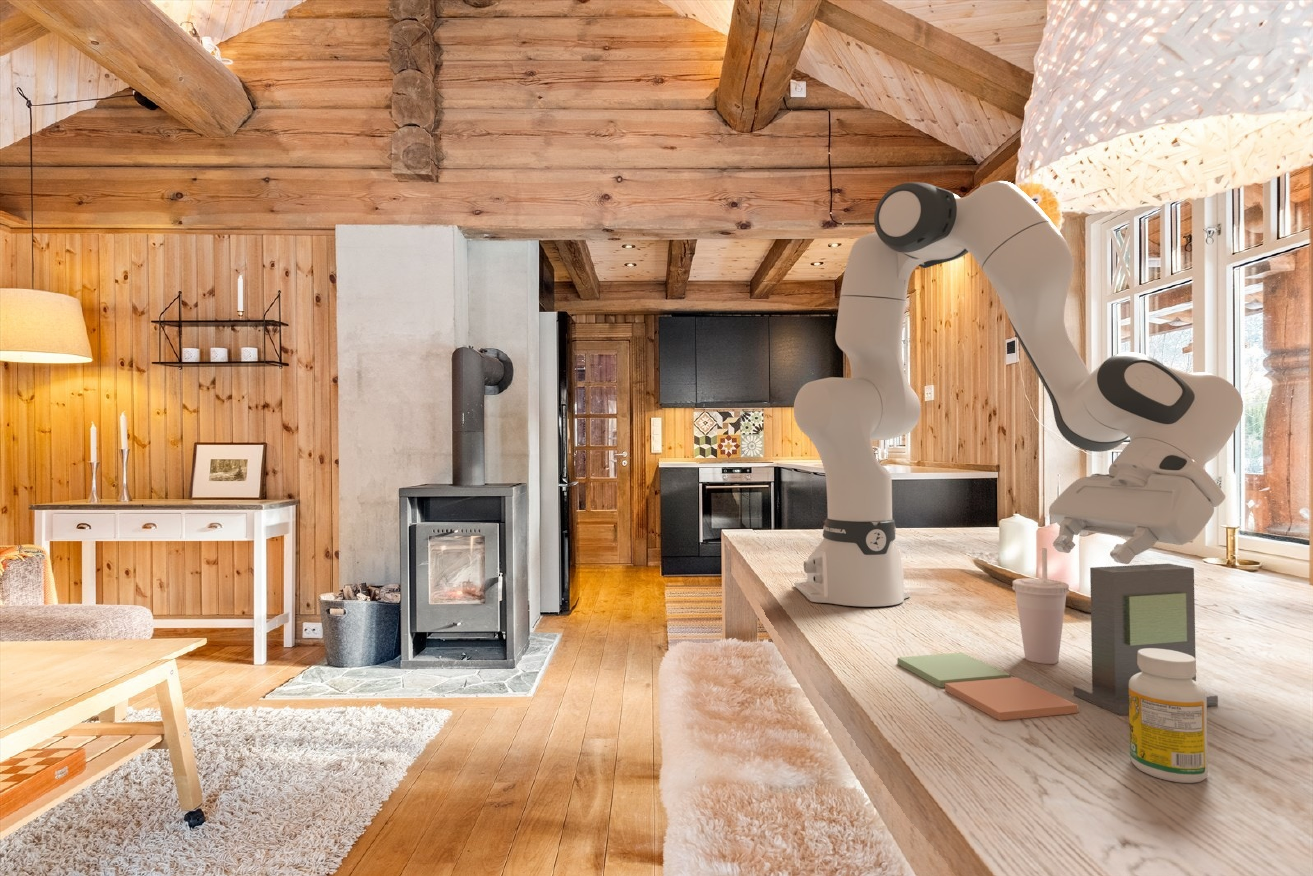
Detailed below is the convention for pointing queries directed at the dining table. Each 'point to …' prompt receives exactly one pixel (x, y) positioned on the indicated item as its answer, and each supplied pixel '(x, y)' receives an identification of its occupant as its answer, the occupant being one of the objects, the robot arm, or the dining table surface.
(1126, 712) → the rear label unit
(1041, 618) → the smoothie
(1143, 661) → the supplement bottle
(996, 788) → the dining table surface
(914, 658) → the sage pad
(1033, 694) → the terracotta pad
